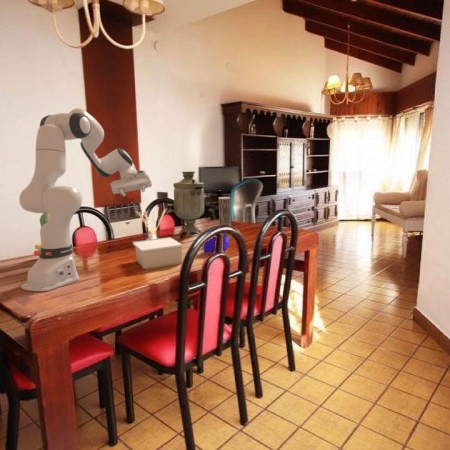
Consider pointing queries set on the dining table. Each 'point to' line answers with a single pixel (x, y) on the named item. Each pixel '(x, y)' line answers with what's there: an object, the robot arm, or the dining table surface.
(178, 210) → the samovar
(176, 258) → the box
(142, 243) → the lid
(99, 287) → the dining table surface
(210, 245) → the bracket
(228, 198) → the paper tube
